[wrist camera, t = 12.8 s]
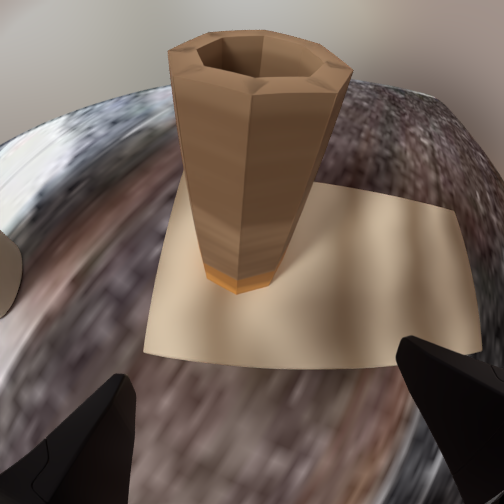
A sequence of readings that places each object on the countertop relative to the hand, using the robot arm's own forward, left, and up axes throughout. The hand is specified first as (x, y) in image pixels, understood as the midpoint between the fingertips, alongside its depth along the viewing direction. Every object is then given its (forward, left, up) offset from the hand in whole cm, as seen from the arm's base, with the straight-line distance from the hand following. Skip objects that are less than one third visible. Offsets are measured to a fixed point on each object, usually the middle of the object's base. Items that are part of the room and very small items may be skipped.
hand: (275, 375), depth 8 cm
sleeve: (+7, -4, -8) cm, 11 cm away
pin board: (+2, -10, -9) cm, 13 cm away
